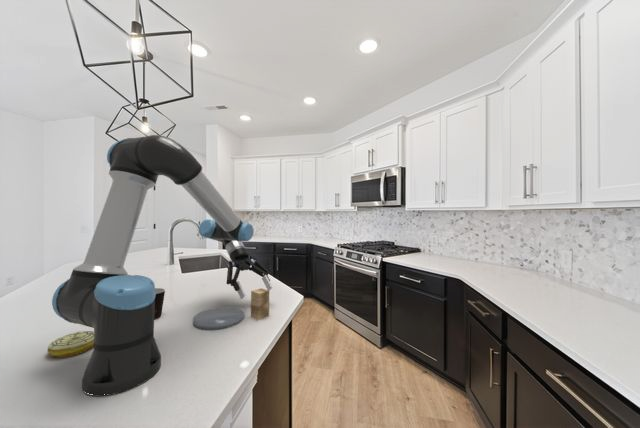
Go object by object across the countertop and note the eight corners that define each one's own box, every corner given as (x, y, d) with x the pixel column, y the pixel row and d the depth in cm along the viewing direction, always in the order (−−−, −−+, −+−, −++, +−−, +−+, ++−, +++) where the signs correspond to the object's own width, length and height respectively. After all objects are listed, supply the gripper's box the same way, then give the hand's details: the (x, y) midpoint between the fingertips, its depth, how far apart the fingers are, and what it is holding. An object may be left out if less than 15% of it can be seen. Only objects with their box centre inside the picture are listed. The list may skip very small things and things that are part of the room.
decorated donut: (103, 337, 79) (104, 325, 79) (91, 354, 69) (92, 341, 69) (59, 344, 74) (59, 332, 74) (39, 363, 65) (39, 349, 65)
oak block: (258, 319, 94) (259, 293, 94) (250, 316, 97) (251, 291, 97) (268, 316, 98) (269, 290, 98) (260, 312, 101) (261, 288, 101)
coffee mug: (169, 313, 98) (170, 288, 98) (152, 323, 89) (153, 295, 90) (142, 312, 99) (143, 287, 99) (123, 321, 91) (124, 293, 91)
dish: (207, 335, 81) (208, 330, 81) (184, 320, 92) (184, 316, 92) (253, 318, 95) (253, 314, 95) (228, 307, 106) (228, 303, 106)
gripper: (256, 254, 121) (276, 291, 112) (206, 261, 102) (225, 306, 92) (263, 244, 118) (284, 281, 109) (213, 249, 98) (234, 295, 89)
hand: (257, 293), depth 101 cm, fingers open, 13 cm apart
